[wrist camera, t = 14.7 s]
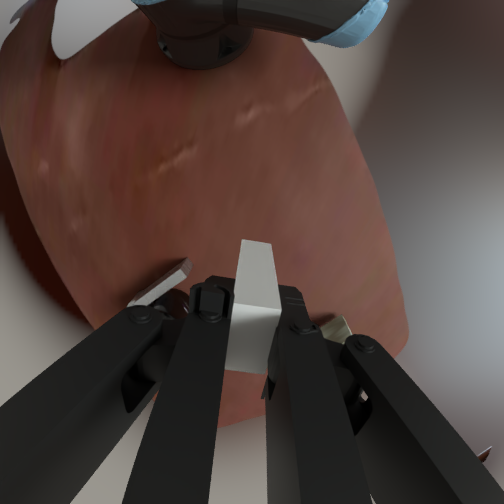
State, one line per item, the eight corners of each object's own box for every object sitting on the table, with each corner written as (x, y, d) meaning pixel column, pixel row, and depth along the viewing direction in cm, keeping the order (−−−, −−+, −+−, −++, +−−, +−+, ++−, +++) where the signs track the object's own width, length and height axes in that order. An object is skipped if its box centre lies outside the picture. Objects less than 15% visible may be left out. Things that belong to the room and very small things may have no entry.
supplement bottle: (202, 305, 49) (188, 346, 38) (180, 326, 51) (163, 368, 39) (172, 279, 47) (150, 315, 36) (151, 303, 49) (127, 341, 38)
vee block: (137, 248, 46) (125, 258, 41) (194, 258, 46) (187, 270, 41) (138, 334, 52) (129, 348, 47) (187, 344, 52) (182, 361, 47)
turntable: (327, 293, 47) (338, 314, 40) (356, 337, 50) (367, 360, 43) (246, 342, 50) (245, 367, 43) (282, 378, 53) (284, 404, 46)
